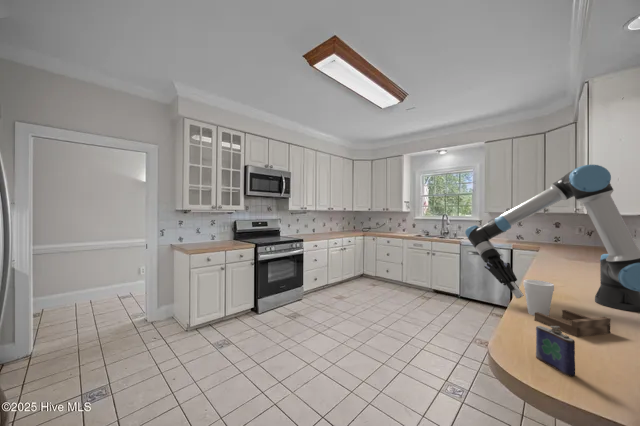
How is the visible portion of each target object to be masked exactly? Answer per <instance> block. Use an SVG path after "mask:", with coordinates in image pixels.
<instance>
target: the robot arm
mask: <svg viewBox="0 0 640 426" xmlns="http://www.w3.org/2000/svg"><path fill="white" fill-rule="evenodd" d="M611 180H612V176H611V172H610V171H609V170H608V169H607V168H605V167H604V166H602V165H599V164H584V165H581V166H578V167H575V168H574V169H573V170H571V171H569V172H568V173H566V174H564V176H563V177H561V178H559V179H558V180H556V181H555V182H553V183H552V184H550V186H549V187H548V188H547V189H545V190H543V191H542V192H539V193H537V194H536V195H534V196H533V197H530V198H529V199H527V200H525V201H523V202H522V203H520V204H518V205H516V206H514V207H512V208H511V209H508V210H507V211H505V212H504V213H502V214H500V215H498V216H496V217H494V218H492V219H490V220H488V221H487V223H485V224H483V225H481V226H478V225H477V224H475V225H472V226H469V227H467V229H466V230H465V231H464V234H465V236H466V237H467V239H468V241H469V242H470V243H471V244H472V246H473V248H474V249H475V250H476V252H477V253H478V254H479V256H480V258H481V259H482V260H483V262H484V263H486V264H485V265H484V269H487V270H488V271H489V272H490V273H491V274H492V275H493V277H494V278H495V279H496V280H497V281H498V282H499V283H500V284H501V285H503V286H506V287H507V288H508V289H509V290H510V291H511V293H512V294H513V295H514V297H515V298H516V299H521V298H522V297H523V296H525V295H524V294H523V292H522V290H520V289H521V288H520V287H519V285H517V283H516V282H517V281H518V279H517V276H516V275H515V273H514V271H513V269H512V267H511V263H510V262H505V261H504V260H503V259H502V258H501V254H500V253H499V252H498V250H497V249H496V248H495V246H494V245H493V244H492V242H491V241H490V240H491V239H493V238H496V237H497V236H499V235H501V234H503V233H505V232H507V231H508V230H509V231H510V229H511V228H512V226H514V225H516V224H517V223H519V222H522V221H524V220H526V219H528V218H530V217H531V216H533V215H536V214H537V213H539V212H541V211H542V210H545V209H547V208H549V207H551V206H553V205H555V204H556V203H558V202H560V201H566V200H568V199H571V198H573V197H574V198H575V200H576V201H577V202H581V203H582V204H583V206H584V208H585V210H586V213H587V214H588V216H589V219H590V220H591V223H592V224H593V226H594V227H595V230H596V233H597V234H598V236H599V238H600V240H601V243H602V244H603V246H604V248H605V250H606V252H607V253H603V254H601V255H600V260H599V262H600V271H599V272H600V278H599V279H600V285H599V287H598V290H597V291H596V293H595V296H594V302H595V303H596V304H599V305H601V306H606V307H608V308H613V309H616V310H617V309H619V310H623V311H629V312H631V311H632V312H640V249H639V246H638V245H637V243H636V241H635V240H634V238H633V235H632V234H631V232H630V229H629V228H628V226H627V224H626V223H625V220H624V219H623V217H622V214H621V213H620V211H619V209H618V207H617V205H616V204H615V201H614V200H613V198H612V196H611V195H612V194H613V192H614V191H615V190H614V188H613V186H612V184H611Z"/></svg>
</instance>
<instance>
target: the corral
mask: <svg viewBox="0 0 640 426" xmlns="http://www.w3.org/2000/svg"><path fill="white" fill-rule="evenodd" d="M561 318H562V319H564V320H566V321H567V320H568V321H570V322H571V323H568V322H565V321H563V320H560V319H559V318H554V317H552V316H549V315H548V316H547V315H544V314H541V313H539V312H535V316H534V321H536V322H538V323H540V324H543V325H545V326H548V327H550V326H559V327H560V328H559V327H558V330H560V331H561V332H562V333H566V334H568V335H571V336H573V337H576V338H580V337H590V336H597V335H598V336H599V335H605V334H606V335H607V334H611V318H609V317H606V316H600V317H589V316H585V315H582V314H579V313H576V312H572V311H569V310H567V309H561Z"/></svg>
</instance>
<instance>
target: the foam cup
mask: <svg viewBox="0 0 640 426" xmlns="http://www.w3.org/2000/svg"><path fill="white" fill-rule="evenodd" d="M523 287H524V294H525V295H524V296H525V302H526V307H527V308H526V309H527V312H528V314H529V315H531V316H533V317H535V312H539V313H541V314H544V315H547V316H549V315H550V310H551V304H552V299H553V295H554V291H555V284H554V283H553V282H552V283H551V282H549V281H545V280H539V279H523Z"/></svg>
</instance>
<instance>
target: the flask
mask: <svg viewBox="0 0 640 426" xmlns="http://www.w3.org/2000/svg"><path fill="white" fill-rule="evenodd" d="M549 327H550V328H548V327H546V326H542V325H536V326H535V331H536V332H535V333H536V335H535V337H536V340H535V341H536V342H535V343H536V344H535V345H536V347H535V357H536V359H537V360H538V361H540V362H543V363H545V364H546V365H547V366H549V367H551V368H553V369H554V370H557V371H559V372H560V373H562V374H563V375H565V376H568V377H571V378H574V377H576V359H575V357H576V353H575V352H576V351H575V350H576V346H575V345H576V341H575V339H573V338H572V337H570V336H569V335H567V334H563V331H560V330H558V327H559V326H549ZM559 328H560V327H559Z"/></svg>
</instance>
